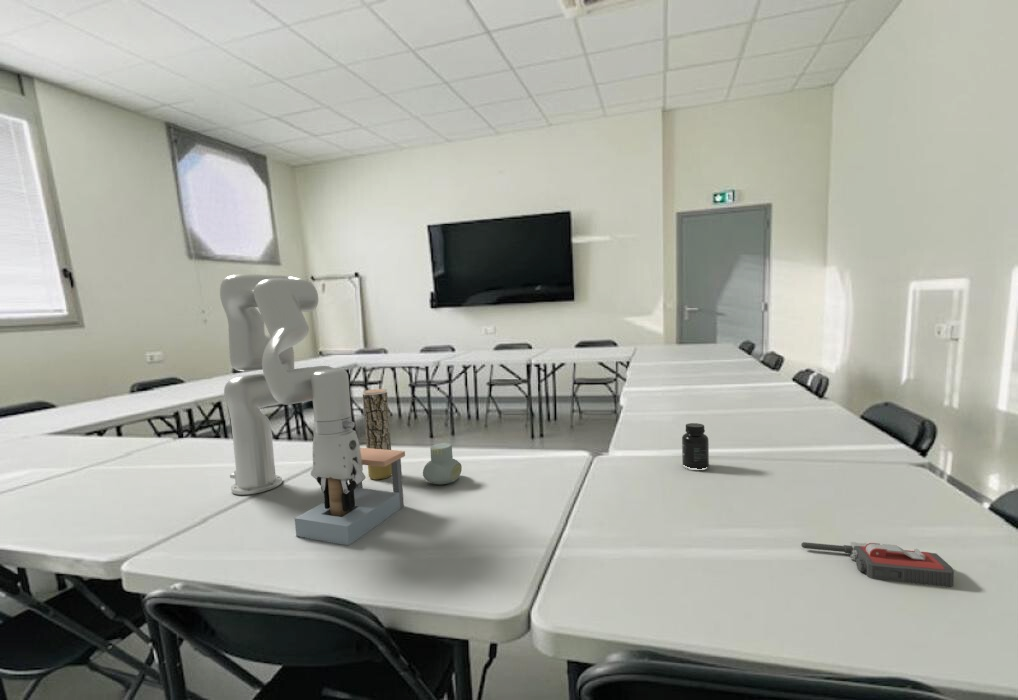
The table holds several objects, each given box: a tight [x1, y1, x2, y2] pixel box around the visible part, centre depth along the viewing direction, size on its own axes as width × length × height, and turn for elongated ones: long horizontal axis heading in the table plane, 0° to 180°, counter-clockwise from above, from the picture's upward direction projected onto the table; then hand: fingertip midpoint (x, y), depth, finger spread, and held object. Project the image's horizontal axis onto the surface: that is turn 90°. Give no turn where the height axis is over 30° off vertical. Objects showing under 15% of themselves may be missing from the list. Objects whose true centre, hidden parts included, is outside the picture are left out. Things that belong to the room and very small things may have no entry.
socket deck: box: [294, 447, 406, 546], centre depth 105 cm, size 16×20×14 cm
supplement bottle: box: [681, 422, 710, 469], centre depth 129 cm, size 7×7×12 cm
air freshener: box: [422, 442, 462, 485], centre depth 127 cm, size 11×8×10 cm
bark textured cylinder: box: [362, 388, 392, 480], centre depth 133 cm, size 7×7×25 cm
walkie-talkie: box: [800, 541, 955, 588], centre depth 78 cm, size 9×4×20 cm
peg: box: [328, 477, 350, 517], centre depth 101 cm, size 4×4×12 cm
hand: (340, 506), depth 102 cm, fingers open, 4 cm apart
